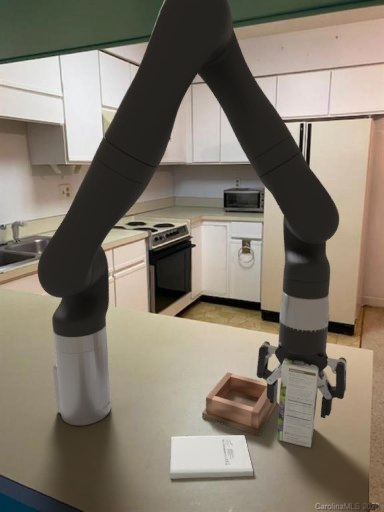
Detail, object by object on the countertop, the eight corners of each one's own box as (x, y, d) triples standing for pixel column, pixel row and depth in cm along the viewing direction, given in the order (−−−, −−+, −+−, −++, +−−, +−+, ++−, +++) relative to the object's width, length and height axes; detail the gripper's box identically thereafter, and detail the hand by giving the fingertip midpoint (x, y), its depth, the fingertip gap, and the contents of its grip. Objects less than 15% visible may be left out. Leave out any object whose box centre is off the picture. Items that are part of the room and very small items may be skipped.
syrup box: (281, 420, 70) (285, 347, 67) (315, 428, 68) (320, 353, 65) (276, 440, 65) (280, 362, 62) (312, 449, 63) (318, 369, 60)
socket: (202, 417, 71) (202, 398, 70) (225, 387, 81) (226, 370, 80) (259, 436, 66) (260, 415, 65) (277, 402, 76) (278, 384, 75)
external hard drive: (171, 443, 66) (244, 441, 66) (170, 481, 58) (252, 479, 58) (171, 435, 65) (244, 433, 66) (170, 472, 57) (253, 470, 58)
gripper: (253, 319, 62) (250, 408, 66) (347, 336, 55) (338, 434, 59) (267, 304, 68) (264, 386, 72) (353, 318, 62) (345, 408, 66)
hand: (297, 407), depth 66 cm, fingers open, 8 cm apart
